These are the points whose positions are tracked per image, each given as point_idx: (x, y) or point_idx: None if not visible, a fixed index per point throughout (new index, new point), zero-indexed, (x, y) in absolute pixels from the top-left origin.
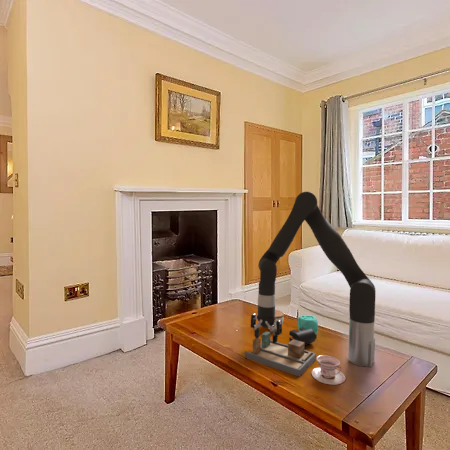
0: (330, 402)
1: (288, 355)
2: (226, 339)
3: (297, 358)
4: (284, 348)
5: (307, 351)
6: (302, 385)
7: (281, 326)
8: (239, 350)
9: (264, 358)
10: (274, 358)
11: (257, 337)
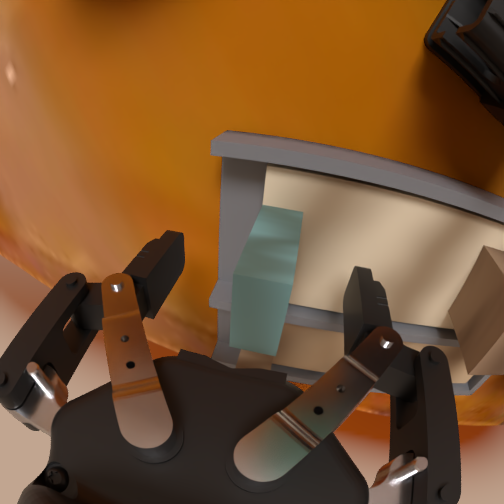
0: (501, 408)
1: (451, 312)
2: (41, 205)
3: None
4: (429, 232)
5: None
6: (462, 397)
7: (452, 429)
8: None
9: None
10: None
11: (181, 259)
